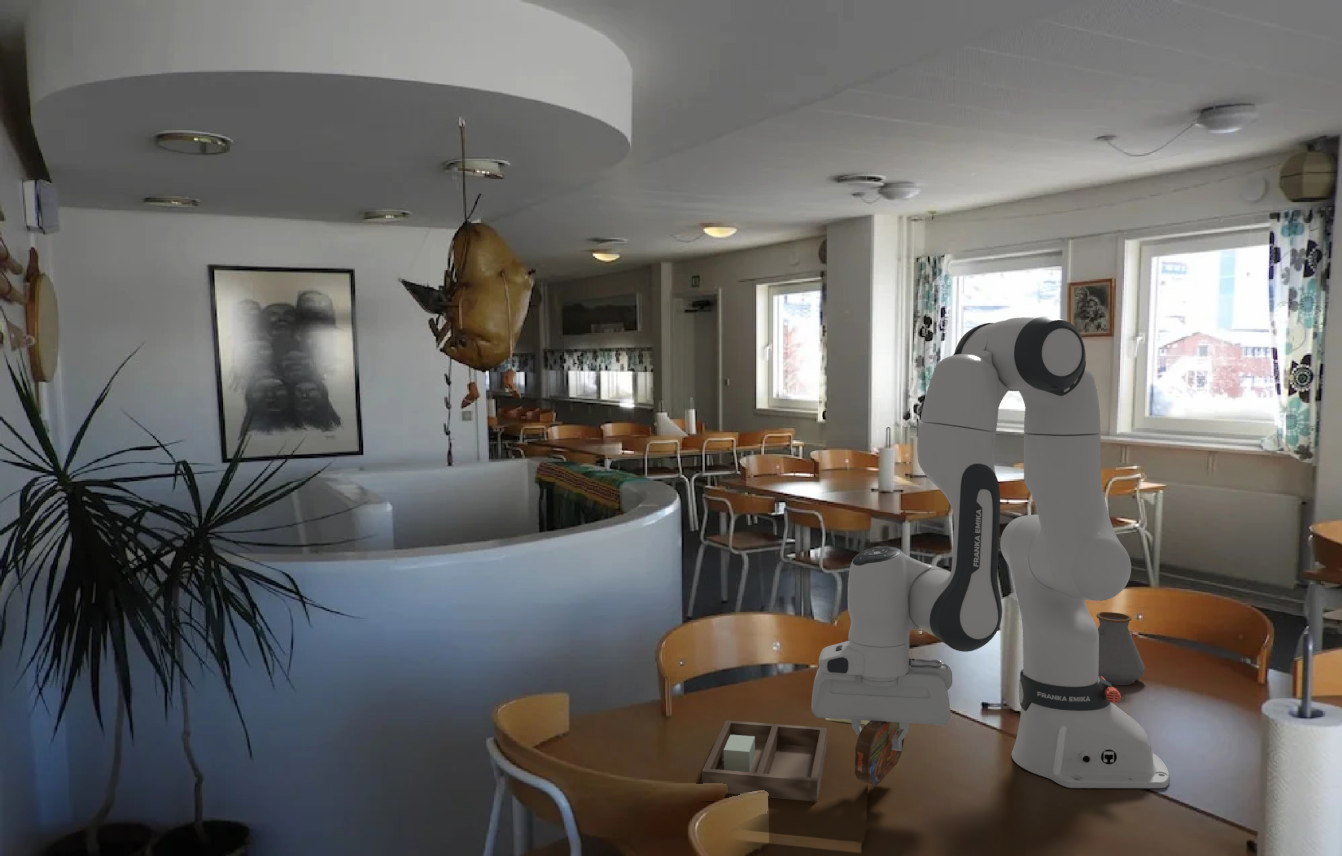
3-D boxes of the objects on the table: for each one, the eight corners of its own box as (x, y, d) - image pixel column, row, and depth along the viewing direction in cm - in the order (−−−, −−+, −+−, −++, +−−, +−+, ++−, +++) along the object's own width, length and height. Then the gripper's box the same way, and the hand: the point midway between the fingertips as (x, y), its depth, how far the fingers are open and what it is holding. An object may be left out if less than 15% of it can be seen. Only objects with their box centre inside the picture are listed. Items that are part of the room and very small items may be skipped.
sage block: (755, 757, 146) (754, 736, 146) (749, 773, 141) (749, 751, 140) (730, 755, 147) (730, 734, 147) (724, 771, 142) (723, 749, 141)
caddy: (827, 751, 151) (826, 727, 150) (817, 808, 131) (817, 781, 131) (726, 743, 155) (726, 720, 155) (702, 797, 135) (702, 771, 135)
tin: (868, 795, 129) (874, 739, 128) (847, 787, 131) (853, 732, 130) (904, 756, 142) (909, 705, 141) (885, 750, 143) (890, 699, 142)
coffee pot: (1115, 666, 190) (1116, 596, 189) (1158, 685, 179) (1159, 610, 178) (1028, 677, 184) (1028, 605, 183) (1066, 697, 173) (1067, 620, 172)
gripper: (950, 653, 135) (951, 743, 136) (812, 648, 140) (814, 735, 141) (953, 667, 129) (954, 761, 130) (809, 661, 134) (811, 752, 135)
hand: (880, 747), depth 136 cm, fingers closed on tin, 3 cm apart
